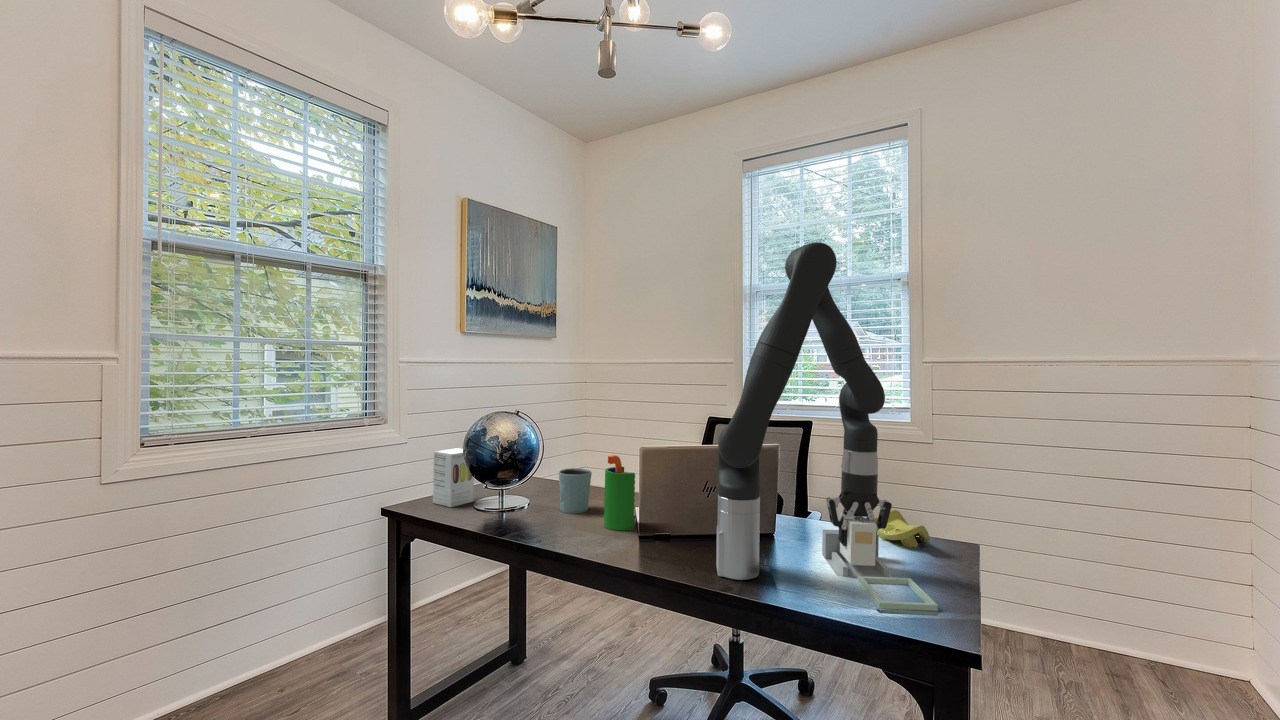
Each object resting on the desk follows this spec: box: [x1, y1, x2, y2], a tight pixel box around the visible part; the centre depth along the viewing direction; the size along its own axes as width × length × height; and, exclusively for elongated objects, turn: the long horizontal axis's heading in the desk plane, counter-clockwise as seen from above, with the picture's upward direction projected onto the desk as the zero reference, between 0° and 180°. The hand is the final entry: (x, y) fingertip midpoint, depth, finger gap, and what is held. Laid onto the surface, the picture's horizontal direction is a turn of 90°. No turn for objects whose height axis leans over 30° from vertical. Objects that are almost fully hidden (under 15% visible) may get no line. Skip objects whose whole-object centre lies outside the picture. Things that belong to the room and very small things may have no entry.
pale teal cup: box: [558, 467, 593, 515], centre depth 172 cm, size 10×10×12 cm
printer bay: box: [821, 529, 895, 578], centre depth 125 cm, size 12×13×7 cm
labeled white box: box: [840, 512, 876, 566], centre depth 124 cm, size 5×8×10 cm, turn 176°
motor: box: [603, 454, 636, 532], centre depth 156 cm, size 10×9×20 cm
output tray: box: [857, 576, 939, 617], centre depth 110 cm, size 11×13×2 cm
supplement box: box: [432, 447, 475, 508], centre depth 179 cm, size 10×9×17 cm
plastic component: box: [874, 509, 931, 548], centre depth 145 cm, size 20×7×10 cm
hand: (857, 545), depth 124 cm, fingers closed on labeled white box, 5 cm apart
